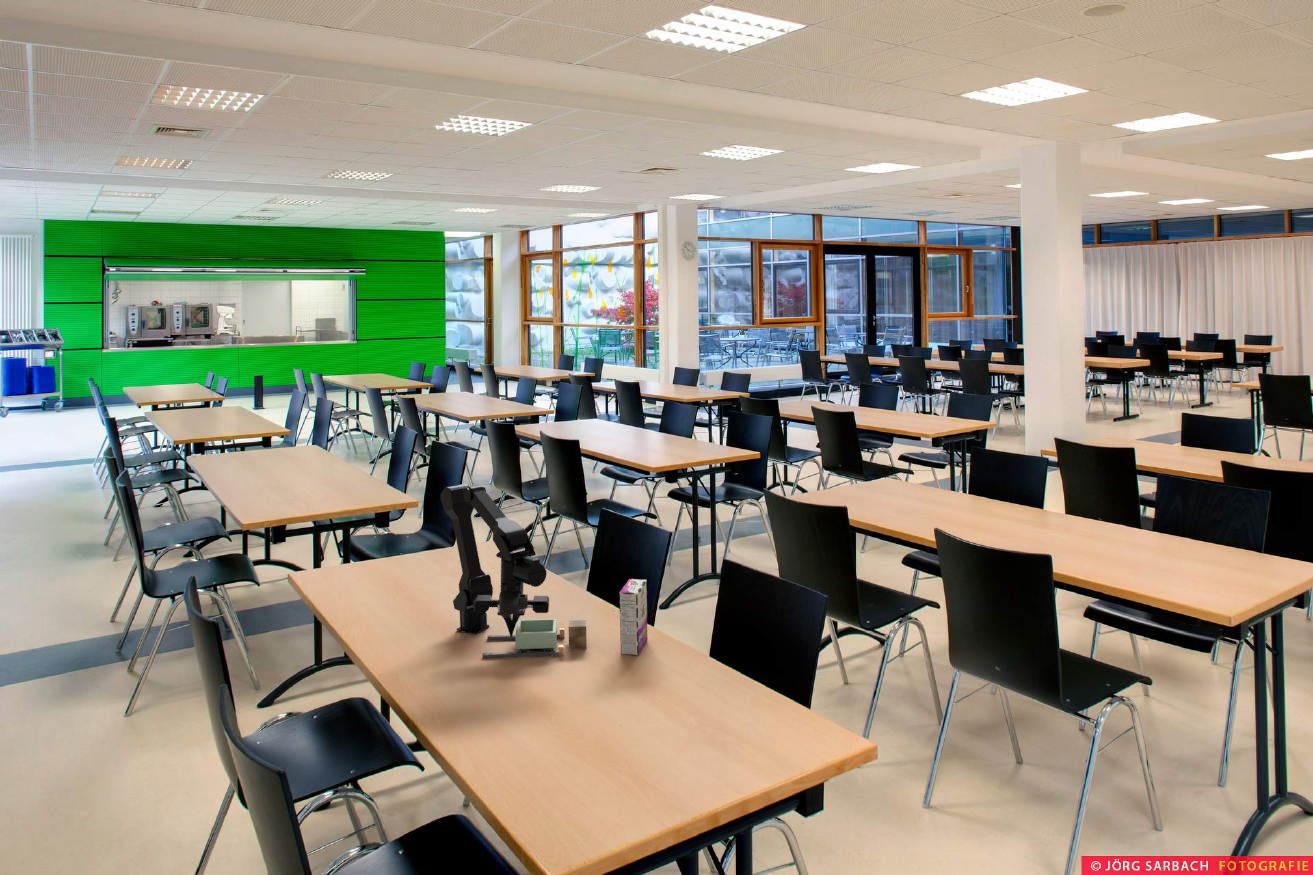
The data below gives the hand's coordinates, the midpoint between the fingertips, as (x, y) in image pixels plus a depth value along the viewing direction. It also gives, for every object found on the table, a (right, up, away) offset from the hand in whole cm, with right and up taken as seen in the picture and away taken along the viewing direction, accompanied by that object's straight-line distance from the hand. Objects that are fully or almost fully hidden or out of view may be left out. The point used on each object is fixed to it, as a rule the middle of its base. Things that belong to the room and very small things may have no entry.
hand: (511, 636), depth 227 cm
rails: (+3, -3, +1) cm, 5 cm away
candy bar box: (+31, -3, +1) cm, 31 cm away
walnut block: (+17, -3, +2) cm, 17 cm away
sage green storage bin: (+6, -3, +1) cm, 7 cm away
